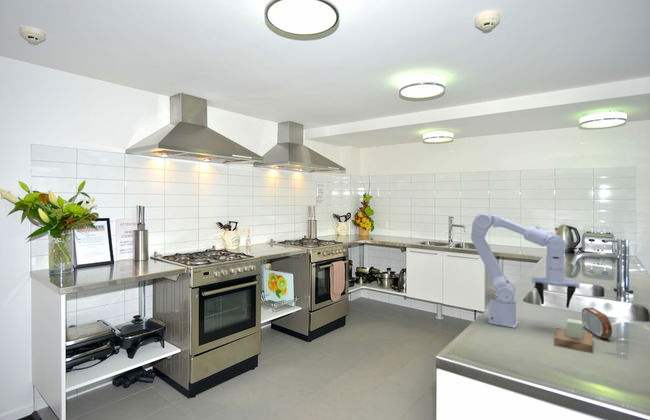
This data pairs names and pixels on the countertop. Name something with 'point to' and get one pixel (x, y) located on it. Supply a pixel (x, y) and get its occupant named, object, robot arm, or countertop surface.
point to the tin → (596, 323)
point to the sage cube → (574, 328)
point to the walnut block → (573, 341)
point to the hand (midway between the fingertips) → (554, 305)
